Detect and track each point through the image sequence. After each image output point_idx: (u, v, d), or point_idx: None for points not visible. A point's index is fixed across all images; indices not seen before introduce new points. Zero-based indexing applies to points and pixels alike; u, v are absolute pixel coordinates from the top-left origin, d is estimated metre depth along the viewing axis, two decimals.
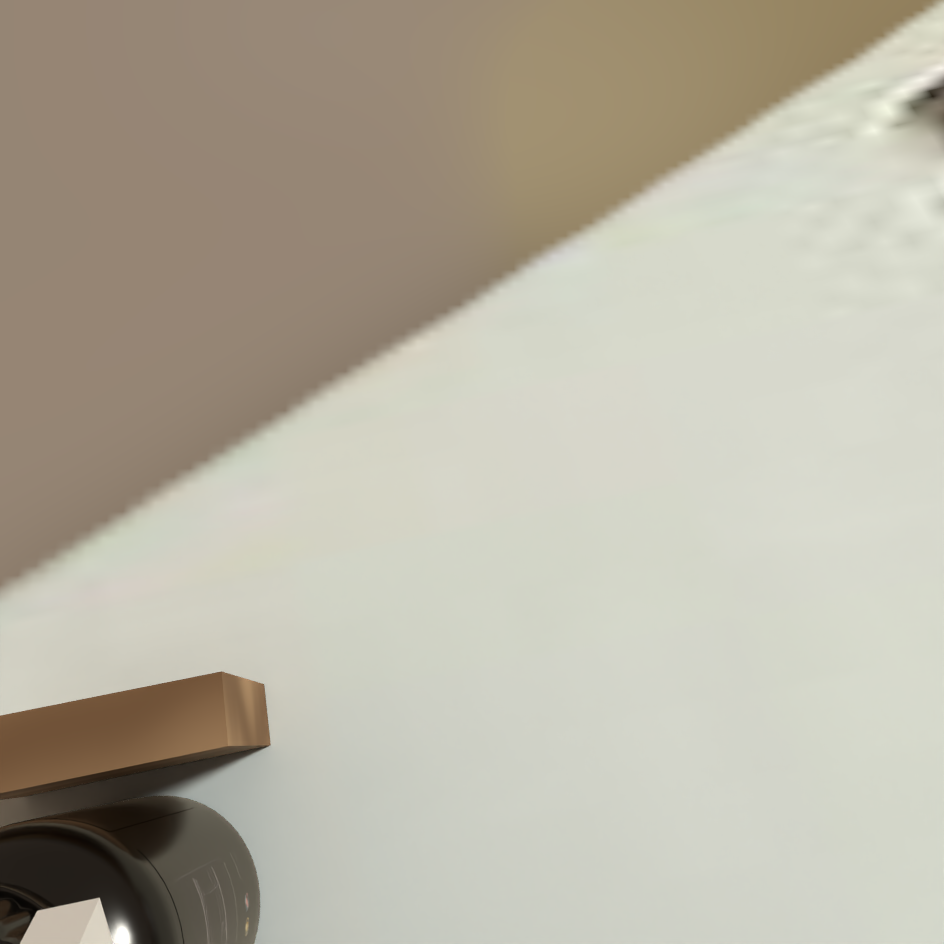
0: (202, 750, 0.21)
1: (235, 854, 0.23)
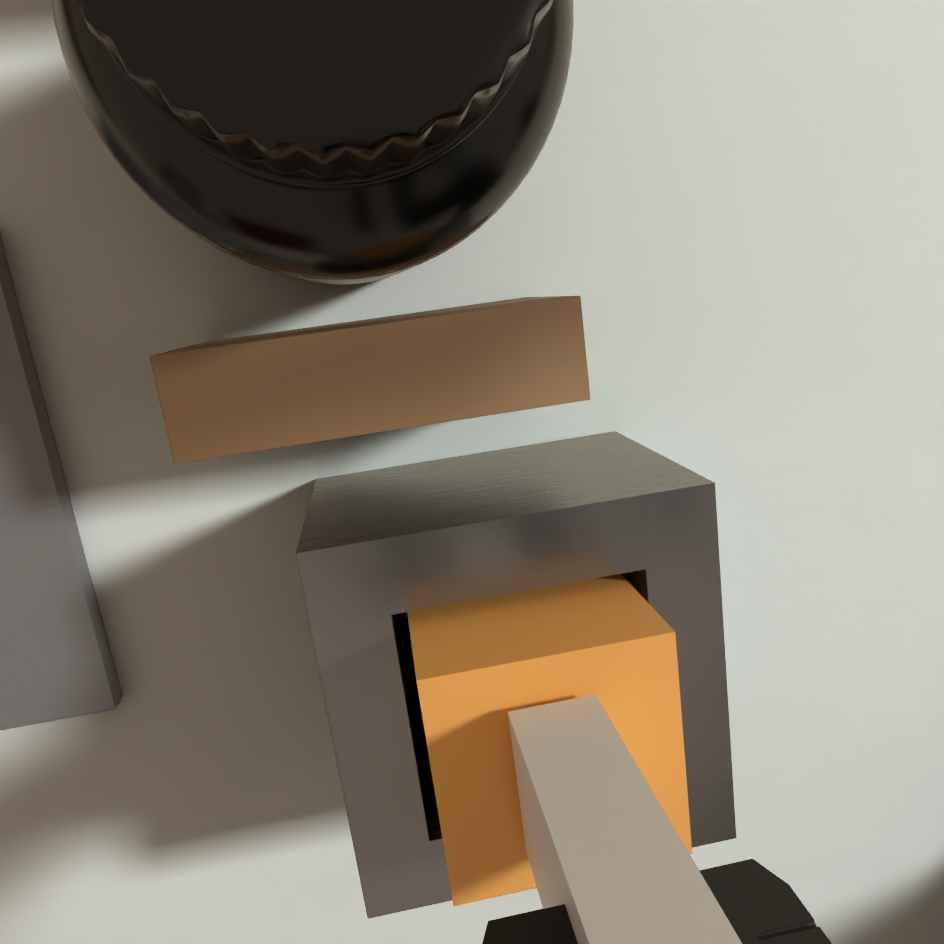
0: None
1: None
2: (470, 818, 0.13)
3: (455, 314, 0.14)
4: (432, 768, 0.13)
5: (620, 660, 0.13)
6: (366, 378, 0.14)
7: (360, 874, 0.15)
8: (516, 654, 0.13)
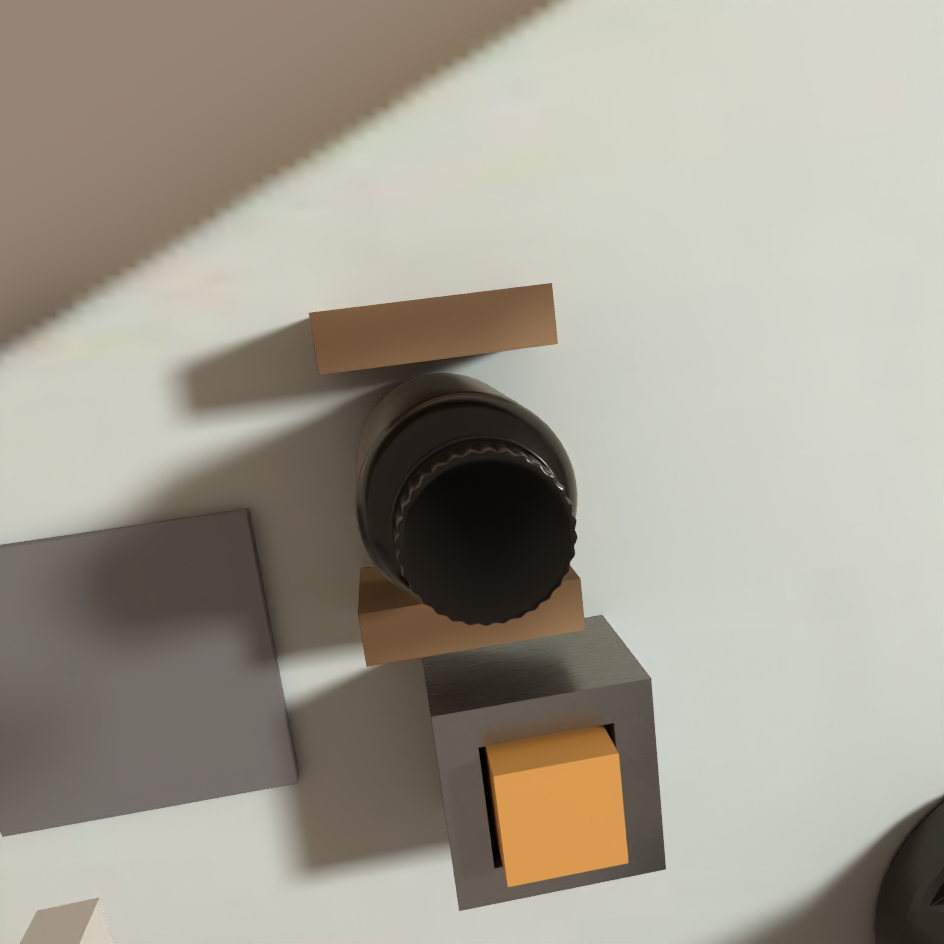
0: (536, 345, 0.26)
1: None
2: (517, 843, 0.27)
3: None
4: (499, 818, 0.26)
5: (591, 767, 0.26)
6: None
7: (456, 886, 0.28)
8: (541, 763, 0.26)
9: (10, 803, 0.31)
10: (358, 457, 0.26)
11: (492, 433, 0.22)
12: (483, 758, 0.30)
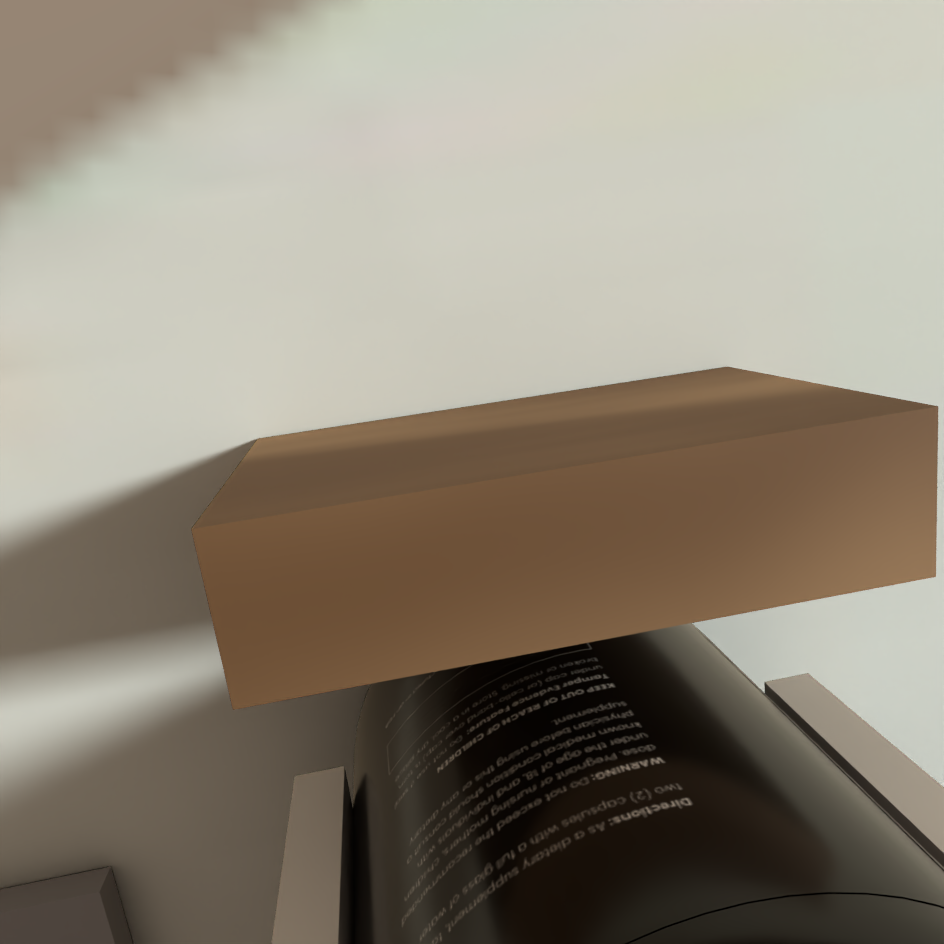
0: (876, 584, 0.09)
1: None
2: None
3: None
4: None
5: None
6: None
7: None
8: None
9: None
10: (358, 885, 0.09)
11: None
12: None
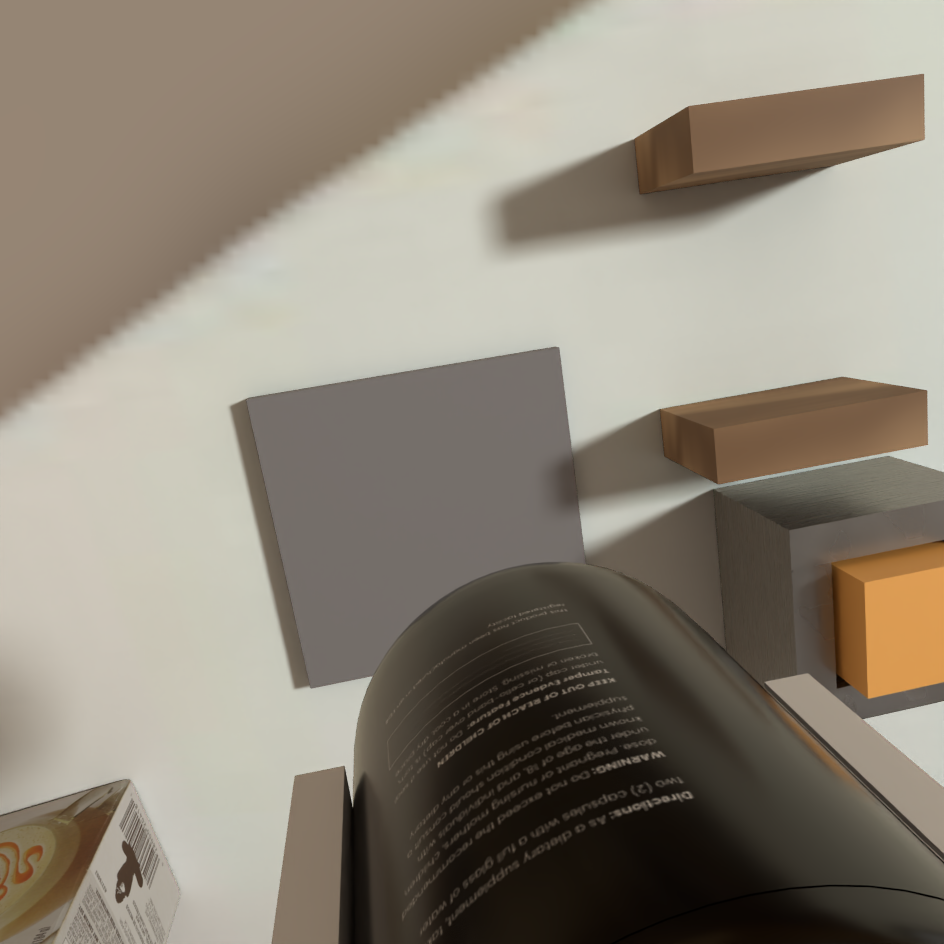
0: (903, 141, 0.25)
1: None
2: (880, 652, 0.27)
3: (864, 402, 0.27)
4: (866, 626, 0.26)
5: None
6: (816, 437, 0.27)
7: None
8: (906, 570, 0.26)
9: (319, 654, 0.31)
10: (358, 880, 0.09)
11: None
12: None
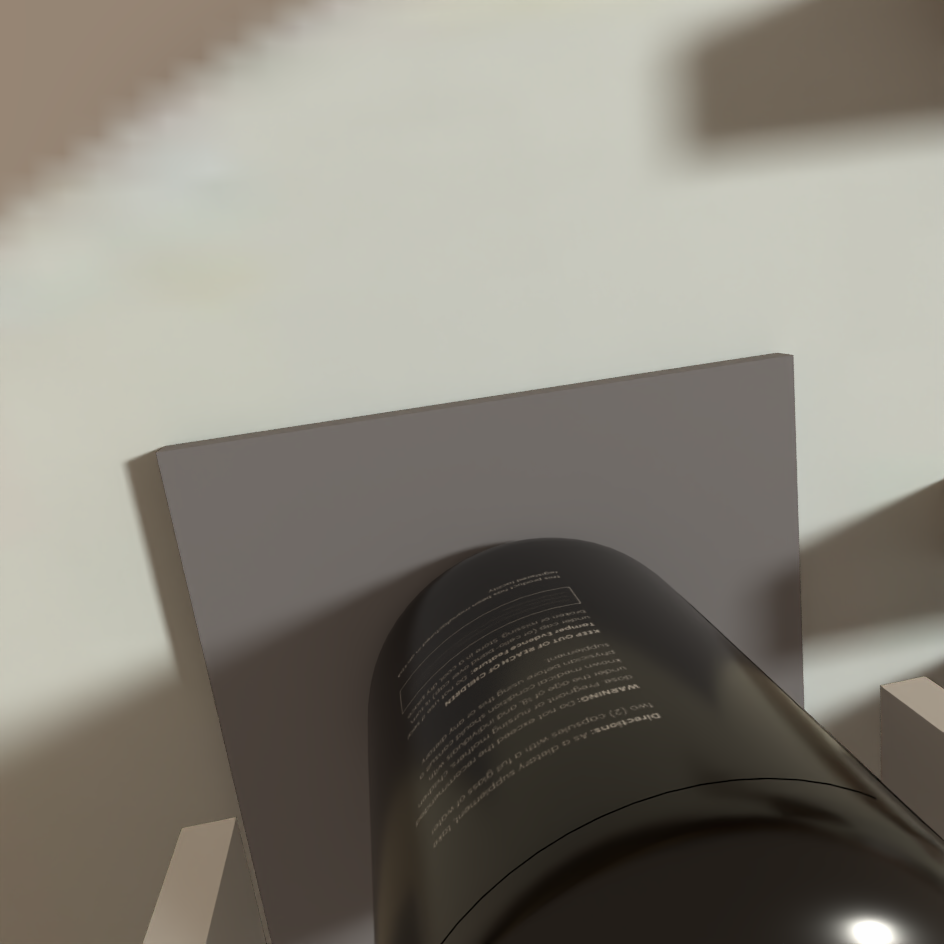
0: None
1: None
2: None
3: None
4: None
5: None
6: None
7: None
8: None
9: (302, 935, 0.16)
10: (375, 808, 0.11)
11: None
12: None
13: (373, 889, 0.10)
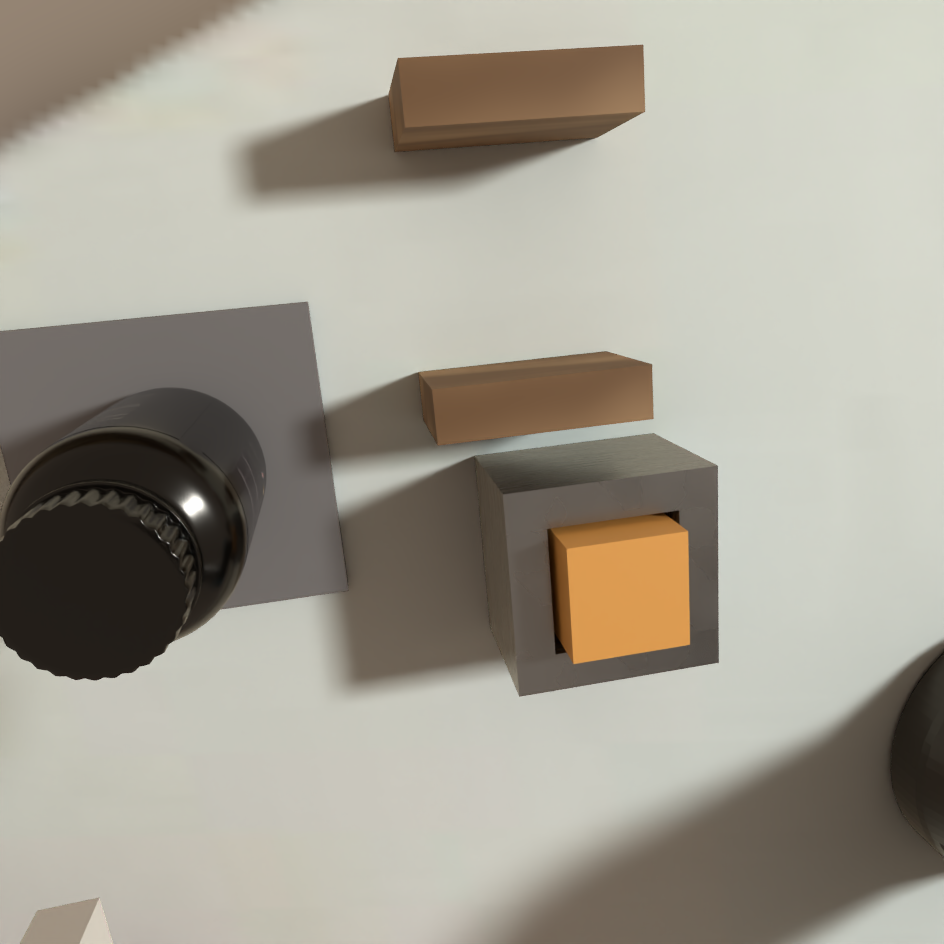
0: (624, 112, 0.25)
1: (250, 441, 0.28)
2: (585, 619, 0.27)
3: (587, 372, 0.27)
4: (570, 592, 0.27)
5: (661, 544, 0.27)
6: (539, 404, 0.27)
7: (518, 670, 0.29)
8: (612, 539, 0.27)
9: None
10: None
11: (127, 474, 0.21)
12: None
13: None
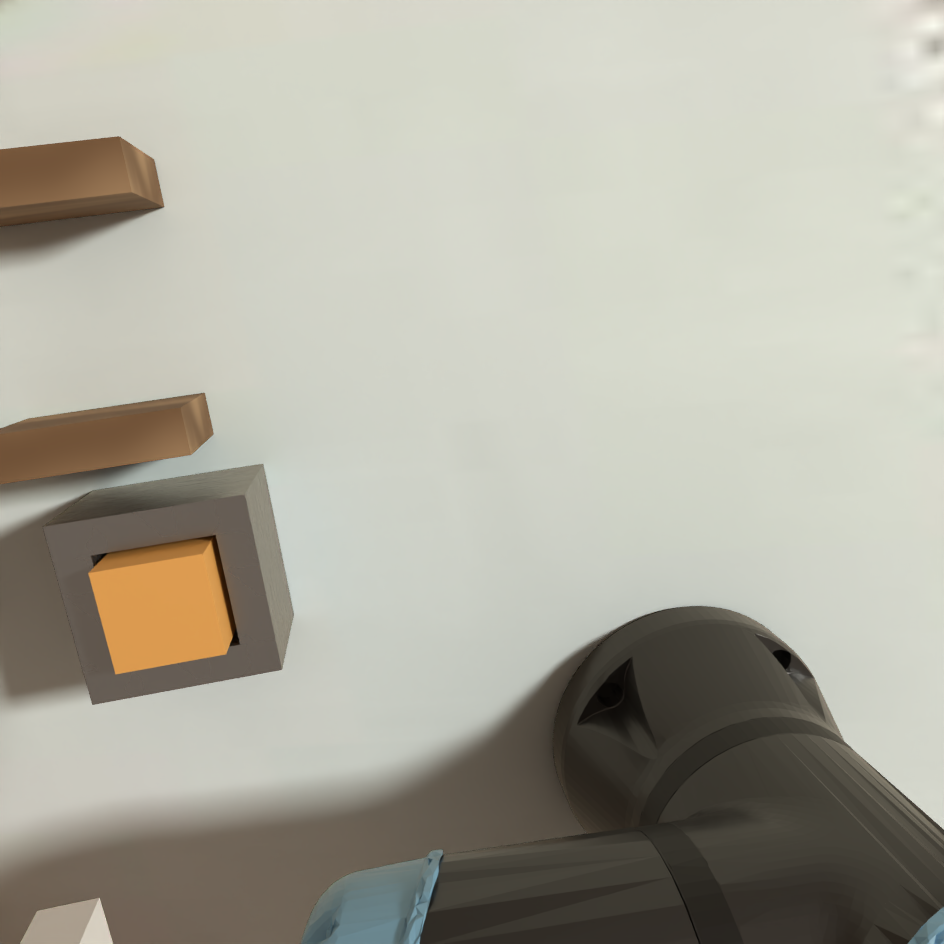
0: (113, 193, 0.29)
1: None
2: (119, 634, 0.31)
3: (119, 417, 0.31)
4: (99, 611, 0.30)
5: (179, 566, 0.30)
6: (79, 446, 0.31)
7: (86, 682, 0.32)
8: (135, 563, 0.30)
9: None
10: None
11: None
12: None
13: None
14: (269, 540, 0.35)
